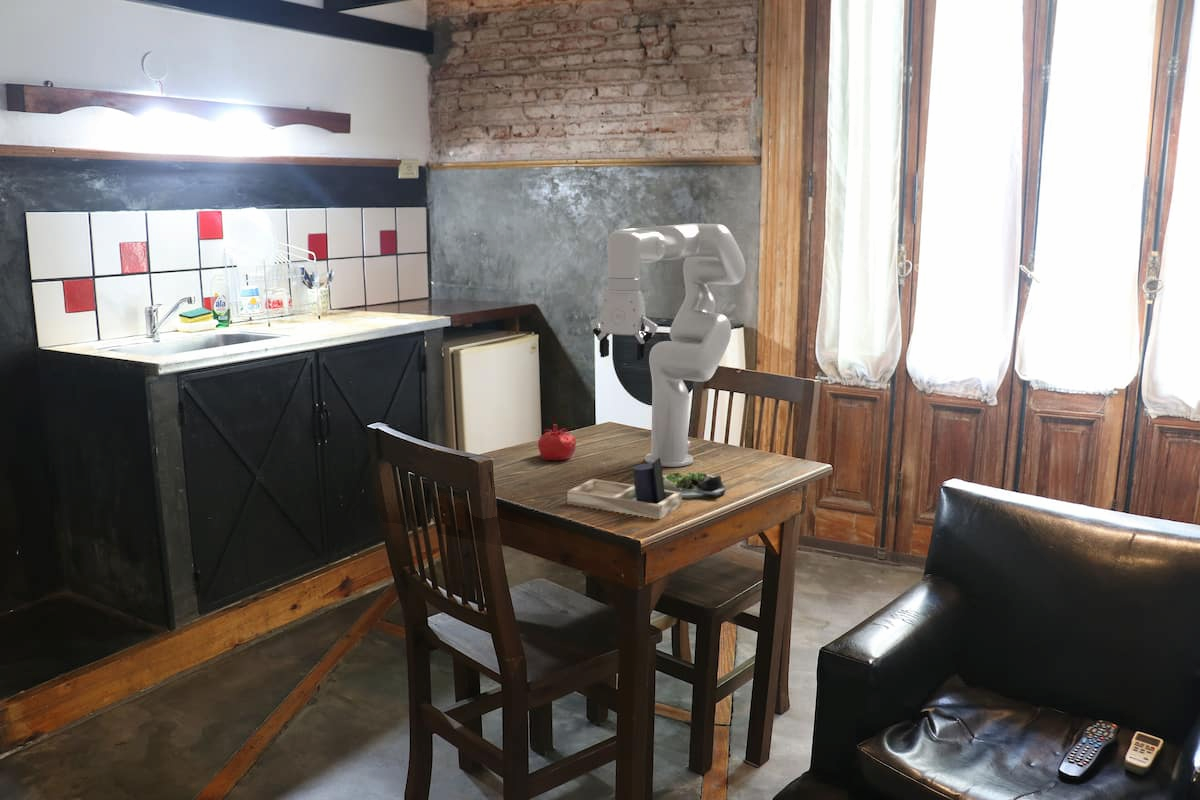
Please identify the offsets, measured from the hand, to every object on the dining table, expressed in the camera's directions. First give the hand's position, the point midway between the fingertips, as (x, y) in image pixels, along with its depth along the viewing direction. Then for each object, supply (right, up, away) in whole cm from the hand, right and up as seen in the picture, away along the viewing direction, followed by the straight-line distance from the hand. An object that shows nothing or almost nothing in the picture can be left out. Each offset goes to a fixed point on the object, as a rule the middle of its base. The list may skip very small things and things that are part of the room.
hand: (622, 358), depth 234 cm
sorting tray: (0, -33, -12) cm, 35 cm away
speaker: (+5, -33, -15) cm, 37 cm away
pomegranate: (-17, -25, +28) cm, 41 cm away
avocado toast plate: (+16, -32, +1) cm, 35 cm away
